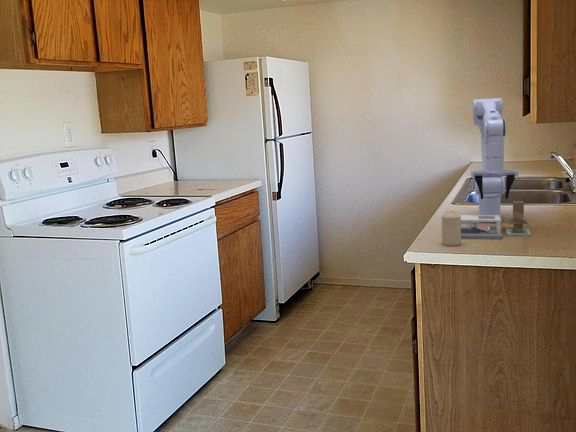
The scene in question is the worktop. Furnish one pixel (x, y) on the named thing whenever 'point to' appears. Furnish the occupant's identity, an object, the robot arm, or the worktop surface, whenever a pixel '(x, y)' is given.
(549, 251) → the worktop surface
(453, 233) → the candle
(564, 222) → the worktop surface
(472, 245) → the worktop surface
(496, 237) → the breaker housing
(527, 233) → the mat
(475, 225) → the rocker switch
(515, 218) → the brown block
